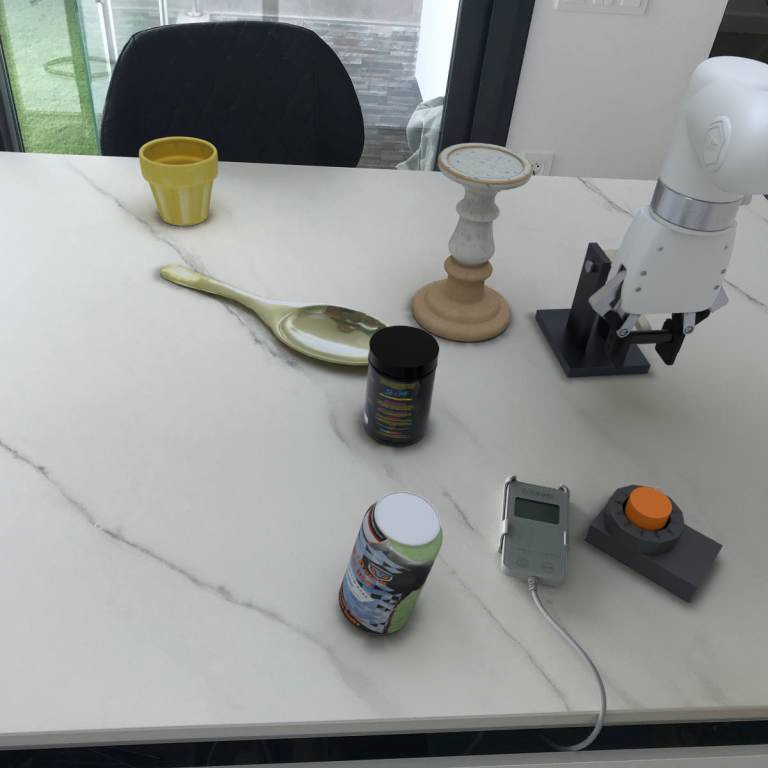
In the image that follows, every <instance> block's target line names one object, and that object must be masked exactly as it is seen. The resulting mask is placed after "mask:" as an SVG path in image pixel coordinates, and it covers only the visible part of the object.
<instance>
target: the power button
mask: <svg viewBox="0 0 768 768" xmlns="http://www.w3.org/2000/svg"><path fill="white" fill-rule="evenodd" d="M649 487H650V486H645V487H640V488H637V489H635V490H633V491H632V493H631V494H630V497H629V499H628V502H627V504H626V507H625V514H626V517H627V518H628V520H629V521H630V522H631V523H632V524H634V525H636V526H637V527H639V528H641V529H643V530H648V531H657V530H660V529H662V528H663V527H664V526H665V524H666V522H667V520H668V518H669V515H670V513H671V511H672V505H671V502H670V500H669V499H668V497H667V496H668V495H667V494H665V493H663V492H662V491H660V490H658V489H656V488H654V487H651V488H649ZM653 488H654V489H653ZM664 494H665V495H664ZM666 495H667V496H666Z"/></svg>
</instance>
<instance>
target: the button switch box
mask: <svg viewBox="0 0 768 768" xmlns="http://www.w3.org/2000/svg"><path fill="white" fill-rule="evenodd" d="M640 487H646V486H644V485H638V484H630V485H626V486H622V487H618V488H617V489H616V490H614V492H613V493H612V494H611V496H610V497H609V498H608V500H607V503H606V504H605V505H604V507H603V508H602V509H601V511H600V512H599V513H598V514H597V516H596V517H595V518H594V519H593V520H592V522H591V523H590V525H589V527H588V529H587V533H586V535H585V537H584V541H586V542H587V543H589V544H590V545H592V546H594V547H595V548H597V549H599V550H600V551H602V552H604V553H605V554H607V555H609V556H611V557H612V558H614V559H615V560H617V561H619V562H620V563H622V564H624V565H625V566H627V567H629V568H630V569H632V570H634V571H636V573H639V574H640V575H642V576H643V577H645V578H647V579H649V580H650V581H652V582H654V583H655V584H657V585H659V586H660V587H662V588H664V589H665V590H667V591H669V592H670V593H672V594H673V595H674V596H677V597H679V598H680V599H682V600H683V601H685V602H687V603H691V601H692V599H693V598H694V596H695V594H696V593H697V592H698V589H699V588H700V586H701V584H702V583H703V581H704V580H705V578H706V576H707V574H708V572H709V571H710V570H711V568H712V566H713V564H714V563H715V562H716V559H717V557H718V555H719V554H720V552H721V550H722V548H723V544H721V543H720V542H718V541H716V540H714V539H712V538H710V537H709V536H707V535H705V534H703V533H701V532H700V531H698V530H696V529H694V528H692V527H691V526H689V525H687V524H686V523H685V518H684V512H683V511H682V509H681V508H680V507H679V506H678V505H677V504H676V502H675V501H674V500H673V499H672V498H671V497H670V496H669V495H667V494H665V493H663V494H664V495H666V496H667V497H668V499H669V500H670V502H671V505H672V511H671V513H670V515H669V518H668V520H667V522H666V524H665V526H664V527H663V528H662V529H660V530H657V531H648V530H643V529H641V528H639V527H637V526H636V525H634V524H632V523H631V522H630V521H629V520H628V518H627V517H626V514H625V507H626V504H627V502H628V499H629V497H630V494H631V493H632V491H633V490H635V489H637V488H640ZM648 487H649V488H653V489H655V488H654V487H651V486H648Z"/></svg>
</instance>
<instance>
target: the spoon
mask: <svg viewBox="0 0 768 768" xmlns="http://www.w3.org/2000/svg"><path fill="white" fill-rule="evenodd" d="M160 276H161V278H162V279H165V280H167V281H169V282H171V283H174V284H176V285H181V286H185V287H187V288H191V289H194V290H198V291H203V292H207V293H211V294H215V295H219V296H221V297H225V298H229V299H230V300H231V299H232V300H234V301H237V302H238V303H239V304H241V305H243V306H245V307H247V308H249V309H250V310H252V311H254V312H255V314H256V315H257V316H258V317H259V319H261V320H262V321H263V323H264V324H265V325H266V326H267V327H268V328H269V329H270V331H272V333H273V335H274V336H275V337H276V338H277V340H279V341H281V342H282V343H284V344H285V345H286V346H288V347H289V348H291V349H292V350H295V351H297V352H299V353H301V354H303V355H305V356H308V357H311V358H314V359H316V360H317V359H318V360H321V361H324V362H328V363H333V364H340V365H348V366H368V353H369V342H370V339H371V337H372V335H373V334H374V333H376V332H377V331H378V330H380V329H383V328H386V327H389V326H391V325H389V324H388V323H387V322H385V321H383V320H382V319H380V318H379V317H376V316H374V315H371V314H370V313H366V312H364V311H362V310H360V309H356V308H352V307H348V306H344V305H340V304H333V303H326V302H301V301H293V300H292V301H291V300H281V299H274V298H273V299H272V298H268V297H264V296H261V295H258V294H254V293H251V292H248V291H245V290H243V289H240V288H238V287H235V286H233V285H231V284H228V283H225V282H223V281H221V280H218V279H216V278H213V277H211V276H208V275H205V274H203V273H200V272H197V271H195V270H192V269H188V268H185V267H182V266H179V265H166V266H161V268H160Z"/></svg>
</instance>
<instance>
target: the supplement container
mask: <svg viewBox="0 0 768 768" xmlns="http://www.w3.org/2000/svg"><path fill="white" fill-rule="evenodd" d="M439 354H440V343H439V342H438V340H437V339H436V338H435V336H433V335H432V333H429V331H426V330H423V329H422V328H419V327H415V326H411V325H403V324H402V325H399V324H398V325H390V326H389V327H386V328H383V329H380V330H378V331H377V332H376V333H374V334H373V335H372V337H371V339H370V342H369V353H368V365H367V371H366V386H365V397H364V398H365V399H364V400H365V401H364V410H363V424H364V427H365V429H366V431H367V433H368V434H369V435H370V436H371V437H372V438H373V439H375V440H377V442H380V443H382V444H385V445H389V446H395V447H396V446H397V447H401V446H406V445H407V446H408V445H411V444H413V443H415V442H417V441H418V440H420V439H422V437H423V436H424V435H425V434H426V433H427V431H428V426H429V421H430V414H431V407H432V399H433V395H434V394H433V393H434V387H435V380H436V373H437V368H438V364H439V356H440V355H439Z"/></svg>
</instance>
